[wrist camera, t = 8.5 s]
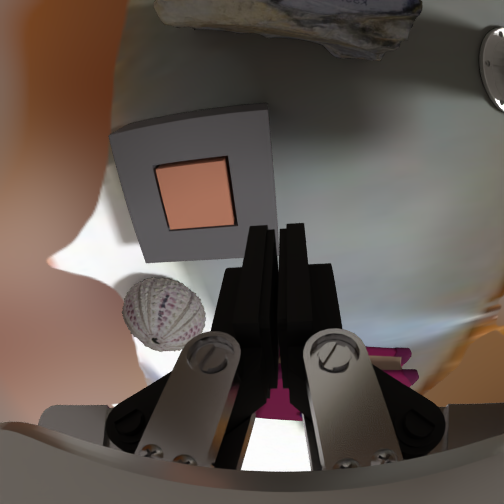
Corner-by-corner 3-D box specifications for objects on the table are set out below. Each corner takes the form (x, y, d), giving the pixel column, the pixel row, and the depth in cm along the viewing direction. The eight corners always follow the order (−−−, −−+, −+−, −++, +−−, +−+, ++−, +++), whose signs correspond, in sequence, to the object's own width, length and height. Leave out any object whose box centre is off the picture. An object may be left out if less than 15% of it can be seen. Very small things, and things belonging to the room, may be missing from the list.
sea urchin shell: (113, 287, 47) (95, 323, 40) (175, 256, 43) (159, 295, 36) (163, 337, 53) (152, 373, 47) (225, 317, 49) (219, 357, 42)
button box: (267, 102, 30) (267, 109, 26) (277, 230, 39) (279, 255, 35) (129, 123, 32) (108, 135, 27) (158, 238, 41) (145, 263, 36)
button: (227, 152, 31) (224, 160, 28) (236, 211, 35) (233, 224, 32) (164, 160, 32) (155, 169, 29) (177, 216, 36) (170, 229, 33)
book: (368, 399, 65) (372, 425, 59) (254, 393, 63) (252, 422, 57) (412, 346, 53) (422, 377, 47) (275, 334, 51) (276, 371, 45)
